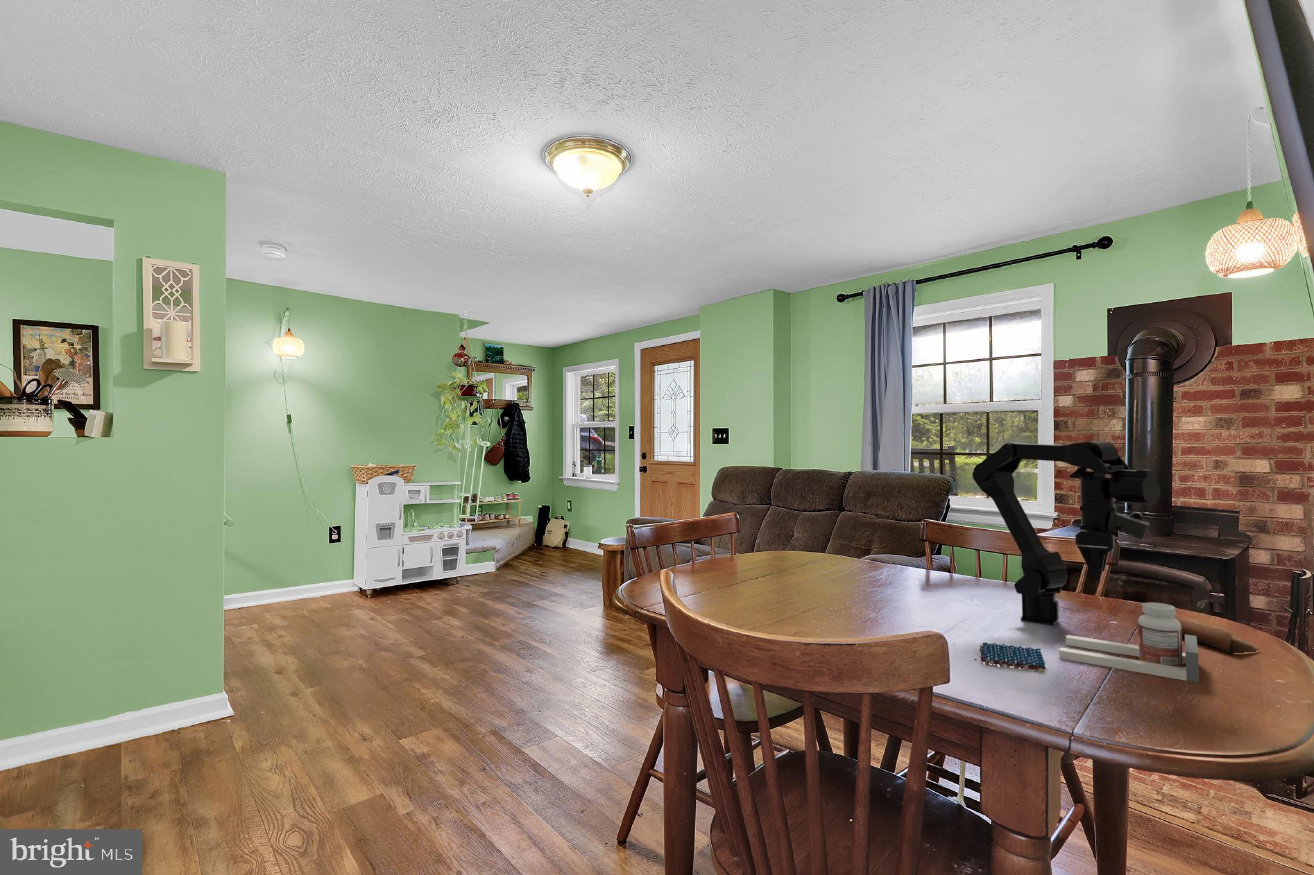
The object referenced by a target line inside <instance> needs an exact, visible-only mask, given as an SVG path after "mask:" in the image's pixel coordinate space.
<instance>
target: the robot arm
mask: <svg viewBox="0 0 1314 875" xmlns="http://www.w3.org/2000/svg"><path fill="white" fill-rule="evenodd" d="M1023 460H1030V461H1047V462H1061V463H1065V464H1066V465H1067V464H1068V465H1069V466H1072V467H1073V466H1074V467H1077V468H1076V470H1074V471H1073V472H1072V473H1071V474H1069V476H1068V478H1070V479H1079V481H1080V482H1079V485H1080V488H1079V490H1080V505H1079V511H1080V521H1081V522H1080V523H1081V524H1080V525H1079V528H1080V530H1079V531H1078V532H1077V533H1076V534H1075V539H1074V540H1075V546H1076V547H1077V549H1078V550H1079V553H1080V554H1081V556H1082V558H1083V560H1084V562H1085V564H1086V566H1087V568H1088V569H1089V572H1090V573H1091V575H1092V578H1093V579H1095V580H1101V578H1102V574H1103V572H1105V569H1106V565H1107V560H1108V555H1109V553H1110V552H1112V551H1113V550H1114V549H1115V543H1116V542H1118V541H1119V537H1120V532H1122V533H1125V534H1127V535H1131V536H1133V537H1134V538H1136V539H1139V540H1144V538H1145V536H1146V535H1147V532H1148V529H1149V528H1150V523H1149V521H1144V518H1143V517H1144V516H1143V514H1141V513H1139V512H1136V511H1134V512H1132V513H1131V514H1129V515H1127V514H1123V513H1120V512H1118V506H1116V505H1115V501H1117V502H1119V503H1125V504H1127V503H1128V504H1136V505H1137V504H1140V505H1142V504H1143V505H1154V504H1156V503H1157V502H1158V500H1159V498H1160V495H1161V486H1160V485H1159V482H1158V480H1157V478H1156V477H1155V476H1154V474H1153V473H1154V472H1153V469H1137V470H1133V469H1131V468H1130V466H1129V465H1128V464H1127V463H1126V462H1125V461H1124V459H1123V458H1122V456H1120V454H1119V453H1118V449H1117V447H1116V446H1115V445H1114V444H1113V442H1110V441H1106V440H1103V441H1102V440H1101V441H1099V440H1097V441H1082V442H1080V441H1079V442H1073V443H1068V444H1048V443H1047V444H1046V443H1045V444H1044V443H1025V442H1019V441H1016V442H1015V441H1014V442H1006V443H1004V444H1003V445H1001V447H1000V448H999V449H998V450H996V451H994V452H993V453H992V454H990V455H989V456H987V457H985V458H984V459H983V460H982V461H981V462H979V463H977V464H976V465H975V466H974V468H973V471H972V472H971V473H972V474H971V475H972V479H973V481H974V482H975V484H976V485H977V487H978V488H979V490H981V492H983V493H984V494H985V495H987V496H988V497H989V498H991V499H992V501H993V502H994V504H995V506H996V508H997V510H998V512H999V514H1000V515H1001V517H1002V520H1003V521H1004V523H1005V525H1006V527H1007V529H1008V531H1009V533H1010V534H1011V536H1012V539H1013V540H1014V543H1015V544H1016V546H1017V548H1018V550H1019V552H1020V554H1021V570H1022V573H1023V576H1022V577H1020V578H1019V579H1018V580H1017V581H1015V582H1014V584H1013V585H1014V588H1015V592H1016V594H1018V595H1019V594H1020V595H1021V615H1022V616H1021V617H1020V621H1024V622H1030V623H1037V624H1044V625H1050V626H1054V625H1055V624H1056V622H1058V620H1059V619H1060V616H1059V615H1060V614H1059V613H1060V611H1059V609H1060V608H1059V601H1058V600H1057V599H1056V594H1060V593H1061V591H1062V588H1063V586H1065V585H1066V583H1067V582H1068V578H1069V573H1068V571H1067V569H1069V566H1067V565H1066V564H1065V563H1064V561H1063V559H1062V556H1061V554H1060V552H1059V551H1049V550H1048V549H1047V548H1046V547H1045V546H1044V545H1043V543H1042V540H1041V539H1040V537H1039V535H1038V534H1037V532H1036V531H1035V529H1034V526H1033V525H1032V523H1031V521H1030V519H1029V517H1028V515H1027V514H1026V512H1025V510H1024V507H1022V505H1021V503H1020V501H1019V499H1018V497H1017V495H1016V494H1015V479H1014V476H1013V473H1015V472H1016V471H1017V470H1018V469H1019V466H1020V465H1021V462H1022V461H1023ZM1108 475H1110V476H1108Z"/></svg>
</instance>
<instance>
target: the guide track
mask: <svg viewBox="0 0 1314 875" xmlns="http://www.w3.org/2000/svg"><path fill="white" fill-rule="evenodd" d="M1065 645H1066V646H1072V647H1077V648H1083V649H1091V650H1095V651H1096V650H1097V651H1102V652H1107V653H1108V652H1109V653H1114V654H1119V655H1125V656H1126V655H1127V656H1132V657H1138V658H1139V645H1134V644H1130V643H1129V644H1128V643H1121V642H1115V641H1109V640H1101V639H1095V638H1089V637H1083V636H1075V635H1070V634H1066V636H1065ZM1198 647H1199V646H1198V641H1197V638H1196V636H1192V635H1185V637H1184V652H1182V659H1183V665H1185V667H1183V668H1180V667H1174V666H1168V665H1162V664H1157V663H1151V662H1145V661H1140V660H1137V659H1131V658H1126V657H1121V656H1120V657H1119V656H1115V655H1108V654H1104V653H1103V654H1102V653H1097V652H1090V651H1084V650H1078V649H1072V648H1065V647H1059V650H1058V656H1059V657H1058V658H1059V659H1062V660H1067V659H1069V660H1068V661H1074V662H1079V663H1085V664H1091V665H1096V666H1097V665H1098V666H1102V667H1106V668H1113V669H1118V670H1124V671H1130V672H1136V673H1142V674H1146V675H1147V674H1148V675H1152V676H1159V677H1164V678H1170V679H1174V680H1175V679H1176V680H1179V681H1181V680H1182V681H1186V682H1192V683H1197V684H1199V683H1200V671H1199V670H1200V669H1199V668H1200V666H1199V650H1198Z"/></svg>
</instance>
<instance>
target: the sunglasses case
mask: <svg viewBox="0 0 1314 875" xmlns="http://www.w3.org/2000/svg"><path fill="white" fill-rule="evenodd" d="M1174 618H1175V619H1176V620H1178V621H1179V622H1180V624H1181V629H1182V638H1185V635H1192V636H1196V638H1197V642H1199V643H1201V644H1205V645H1208V646H1211V647H1214V648H1217V649H1220V650H1223V651H1225V652H1227V653H1228V652H1229V653H1230V654H1231V655H1232V654H1234V653H1244V652H1256V651H1257V650H1261V649H1260V648H1259V647H1257V646H1255V645H1253V644H1252V643H1249V642H1248V641H1245V640H1243V639H1240V638H1238V637H1236V636H1234V635H1231V634H1230V633H1229V632H1228V631H1227V630H1225V628H1222V627H1219V626H1213V625H1211V624H1206V623H1202V622H1200V621H1197V620H1194V619H1191V618H1187V617H1184V616H1181V615H1177V614H1176V615H1175V616H1174Z"/></svg>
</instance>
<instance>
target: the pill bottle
mask: <svg viewBox="0 0 1314 875" xmlns="http://www.w3.org/2000/svg"><path fill="white" fill-rule="evenodd" d="M1142 612H1143V613H1144V614H1143V615H1140V616H1139V617H1138V619H1137V628H1138V629H1137V631H1138V646H1139V657H1138V658H1139V661H1145V662H1151V663H1157V664H1162V665H1168V666H1174V667H1180V668H1184V664H1183V659H1182V653H1183V636H1182V629H1181V624H1180V622H1179V621H1178V620H1176V619H1175V618H1174V616H1175V615H1177V611H1176V607H1175V606H1173V605H1171V604H1167V603H1162V602H1161V603H1160V602H1144V603H1142Z"/></svg>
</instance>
